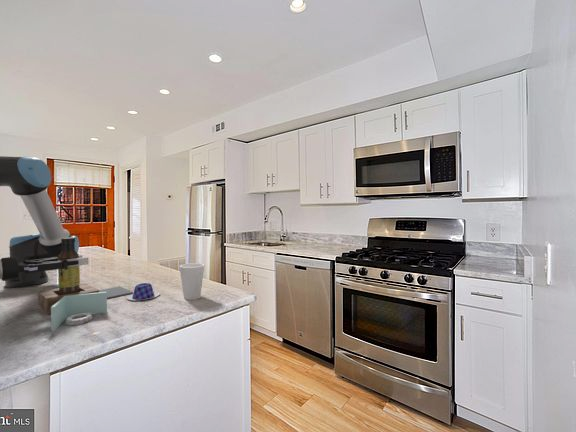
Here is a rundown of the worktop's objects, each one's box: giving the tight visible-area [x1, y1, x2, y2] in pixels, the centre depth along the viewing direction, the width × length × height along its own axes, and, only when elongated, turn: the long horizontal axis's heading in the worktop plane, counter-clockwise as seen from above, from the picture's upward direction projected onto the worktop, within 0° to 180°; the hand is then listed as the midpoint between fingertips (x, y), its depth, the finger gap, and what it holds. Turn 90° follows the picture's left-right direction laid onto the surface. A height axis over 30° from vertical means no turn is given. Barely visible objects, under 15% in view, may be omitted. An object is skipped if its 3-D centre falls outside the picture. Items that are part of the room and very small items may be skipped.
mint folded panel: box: [50, 292, 108, 331], centre depth 91 cm, size 12×12×8 cm
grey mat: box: [98, 285, 134, 300], centre depth 120 cm, size 14×12×1 cm
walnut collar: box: [37, 283, 100, 316], centre depth 106 cm, size 15×15×5 cm
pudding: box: [126, 282, 160, 301], centre depth 116 cm, size 12×12×5 cm
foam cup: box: [179, 262, 205, 301], centre depth 115 cm, size 10×9×13 cm
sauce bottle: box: [57, 237, 81, 293], centre depth 106 cm, size 6×6×20 cm
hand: (85, 259), depth 109 cm, fingers closed on sauce bottle, 6 cm apart
